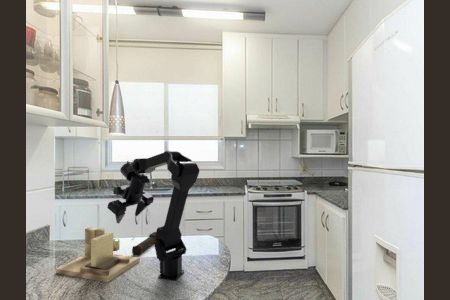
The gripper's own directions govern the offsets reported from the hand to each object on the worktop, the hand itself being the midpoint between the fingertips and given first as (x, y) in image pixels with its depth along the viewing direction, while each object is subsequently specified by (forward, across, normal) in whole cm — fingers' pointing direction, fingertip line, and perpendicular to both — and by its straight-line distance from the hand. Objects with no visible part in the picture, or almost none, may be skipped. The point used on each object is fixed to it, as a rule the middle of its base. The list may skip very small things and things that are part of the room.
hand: (127, 219), depth 101 cm
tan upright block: (+8, +14, +9) cm, 19 cm away
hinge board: (+10, +15, +8) cm, 19 cm away
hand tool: (+13, -8, +8) cm, 17 cm away
